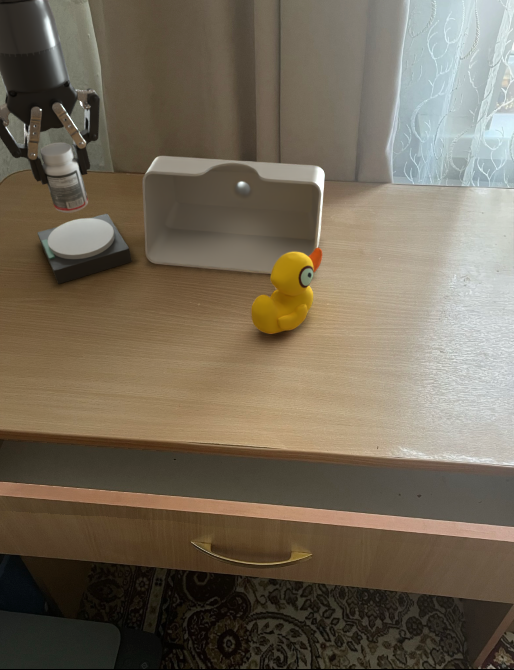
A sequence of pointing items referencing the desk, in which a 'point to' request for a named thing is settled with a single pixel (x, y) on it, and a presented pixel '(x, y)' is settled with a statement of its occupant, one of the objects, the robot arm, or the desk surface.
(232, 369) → the desk surface
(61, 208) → the pill bottle
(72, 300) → the desk surface
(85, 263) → the scale
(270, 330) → the duckling
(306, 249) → the tank
